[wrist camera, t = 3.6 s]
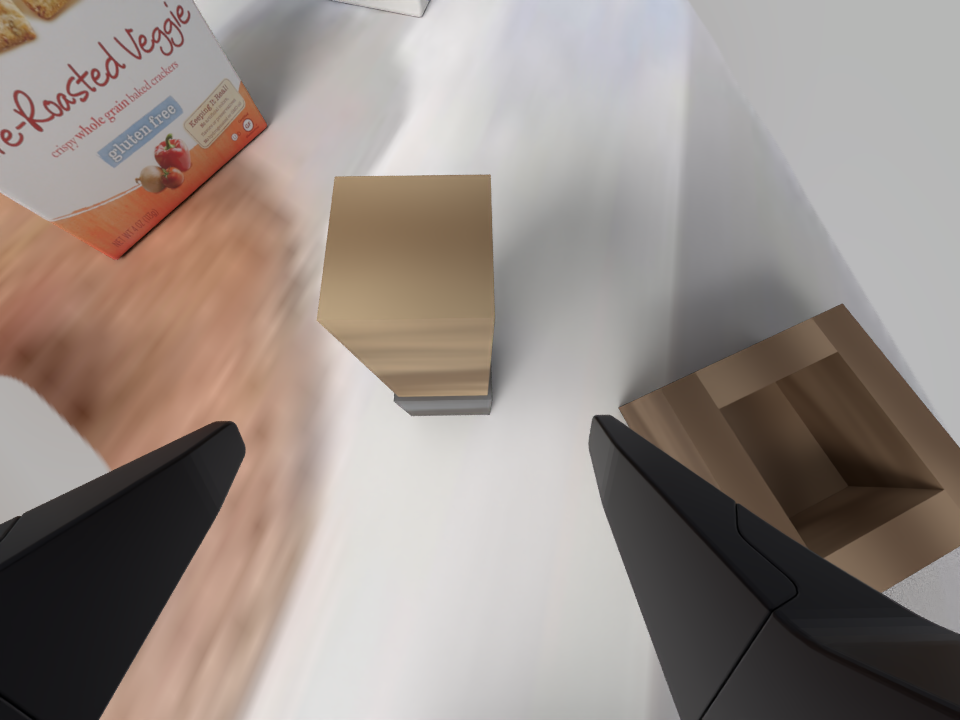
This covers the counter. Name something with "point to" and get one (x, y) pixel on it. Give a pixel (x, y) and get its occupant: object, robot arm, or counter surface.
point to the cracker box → (114, 112)
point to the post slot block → (818, 447)
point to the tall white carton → (393, 5)
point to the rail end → (414, 286)
